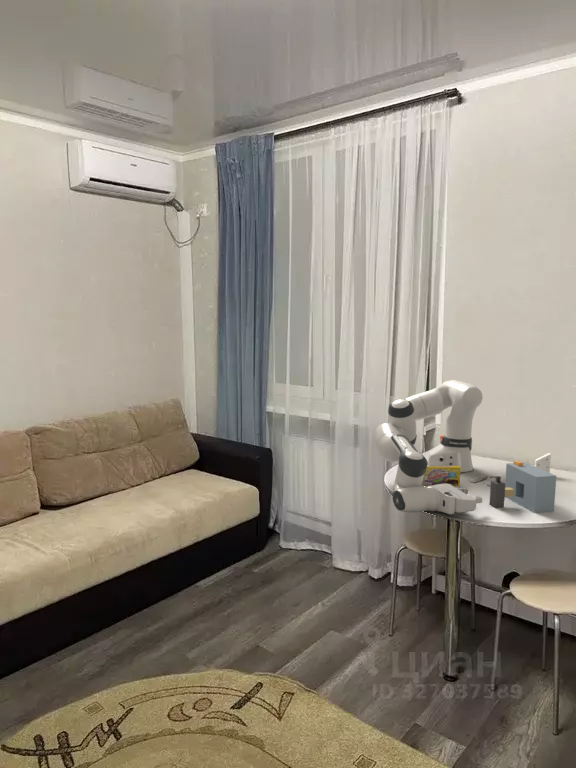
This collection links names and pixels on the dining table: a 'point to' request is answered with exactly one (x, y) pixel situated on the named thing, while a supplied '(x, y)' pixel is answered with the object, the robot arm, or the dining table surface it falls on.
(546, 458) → the white wedge bracket
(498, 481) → the plug
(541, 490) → the socket
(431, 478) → the candy box
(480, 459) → the dining table surface
